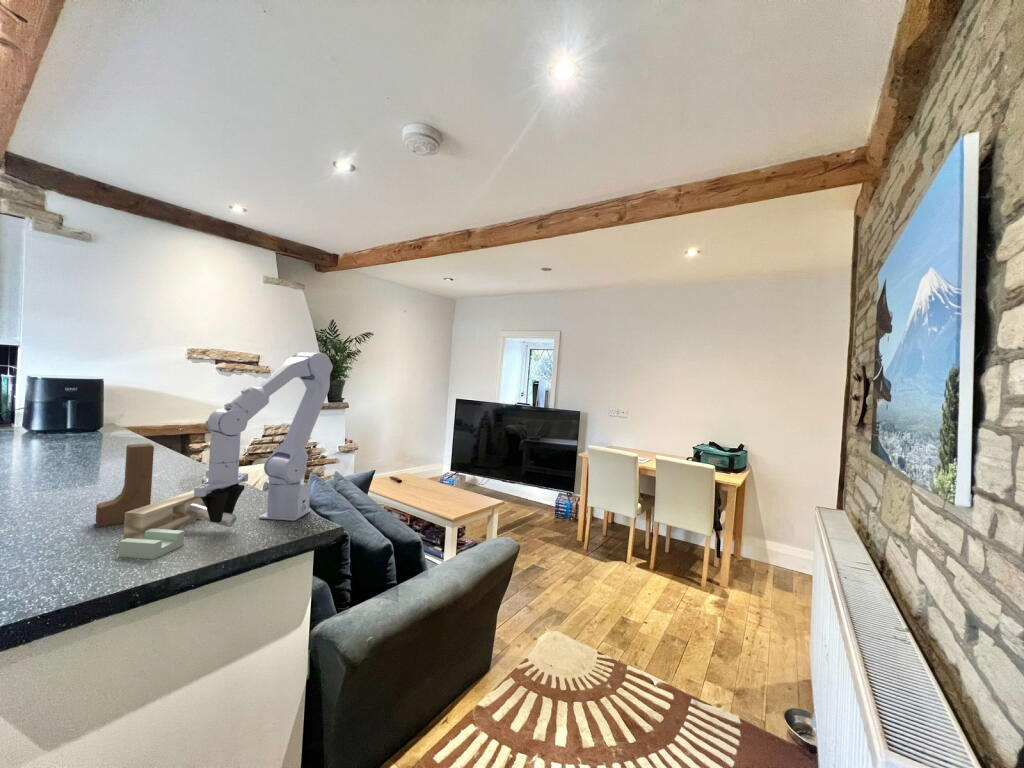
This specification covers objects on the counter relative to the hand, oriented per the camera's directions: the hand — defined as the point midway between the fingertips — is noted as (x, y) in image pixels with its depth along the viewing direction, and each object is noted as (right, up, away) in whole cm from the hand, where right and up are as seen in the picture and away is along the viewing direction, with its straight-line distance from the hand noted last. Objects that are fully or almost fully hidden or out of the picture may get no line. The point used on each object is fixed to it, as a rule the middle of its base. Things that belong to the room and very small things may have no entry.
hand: (221, 519), depth 94 cm
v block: (-5, -2, -12) cm, 13 cm away
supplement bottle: (-14, -2, +16) cm, 21 cm away
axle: (-2, +1, 0) cm, 2 cm away
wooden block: (-25, -1, +2) cm, 25 cm away
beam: (-12, -2, 0) cm, 12 cm away
